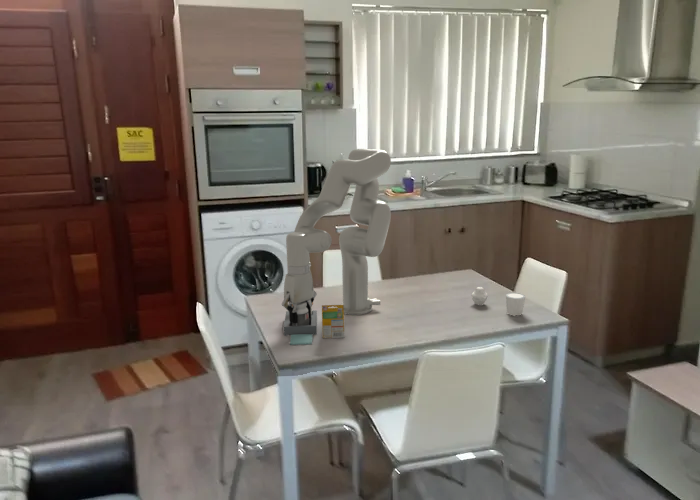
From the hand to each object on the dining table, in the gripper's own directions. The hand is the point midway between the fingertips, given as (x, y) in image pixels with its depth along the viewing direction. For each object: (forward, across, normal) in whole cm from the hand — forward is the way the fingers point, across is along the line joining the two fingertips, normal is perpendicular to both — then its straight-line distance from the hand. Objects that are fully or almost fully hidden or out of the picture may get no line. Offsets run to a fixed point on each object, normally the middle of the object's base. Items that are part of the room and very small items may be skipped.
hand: (300, 319), depth 192 cm
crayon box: (+4, -3, +13) cm, 14 cm away
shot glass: (+4, -62, +48) cm, 79 cm away
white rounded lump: (+4, -63, +34) cm, 71 cm away
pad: (+4, +6, +7) cm, 10 cm away
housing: (+4, -2, -2) cm, 5 cm away
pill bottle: (+4, 0, 0) cm, 4 cm away
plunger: (+3, -7, -4) cm, 9 cm away
